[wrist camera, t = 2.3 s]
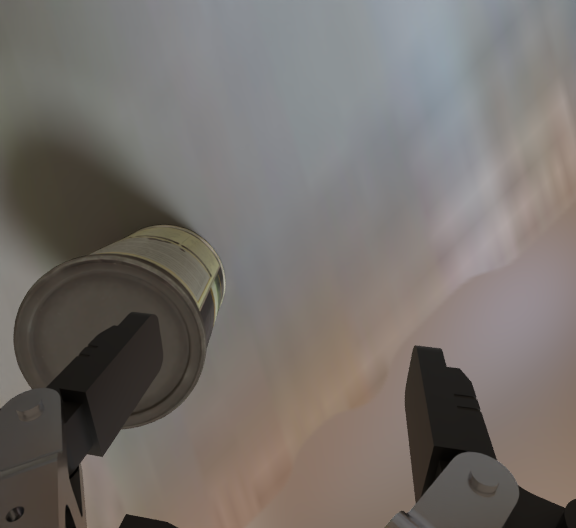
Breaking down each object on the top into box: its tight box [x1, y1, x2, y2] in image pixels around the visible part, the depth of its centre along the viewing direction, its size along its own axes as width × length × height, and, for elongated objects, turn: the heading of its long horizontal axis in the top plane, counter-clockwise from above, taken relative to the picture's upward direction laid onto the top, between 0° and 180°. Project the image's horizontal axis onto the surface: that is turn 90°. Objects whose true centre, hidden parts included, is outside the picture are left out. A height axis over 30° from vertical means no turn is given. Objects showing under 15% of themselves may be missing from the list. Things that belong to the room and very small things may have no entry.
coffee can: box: [14, 225, 225, 429], centre depth 29 cm, size 10×10×14 cm
